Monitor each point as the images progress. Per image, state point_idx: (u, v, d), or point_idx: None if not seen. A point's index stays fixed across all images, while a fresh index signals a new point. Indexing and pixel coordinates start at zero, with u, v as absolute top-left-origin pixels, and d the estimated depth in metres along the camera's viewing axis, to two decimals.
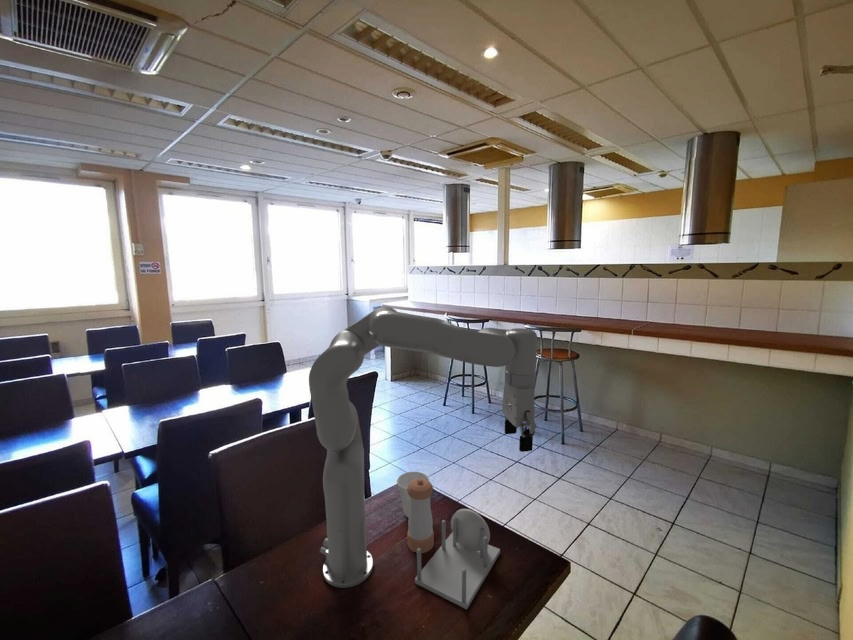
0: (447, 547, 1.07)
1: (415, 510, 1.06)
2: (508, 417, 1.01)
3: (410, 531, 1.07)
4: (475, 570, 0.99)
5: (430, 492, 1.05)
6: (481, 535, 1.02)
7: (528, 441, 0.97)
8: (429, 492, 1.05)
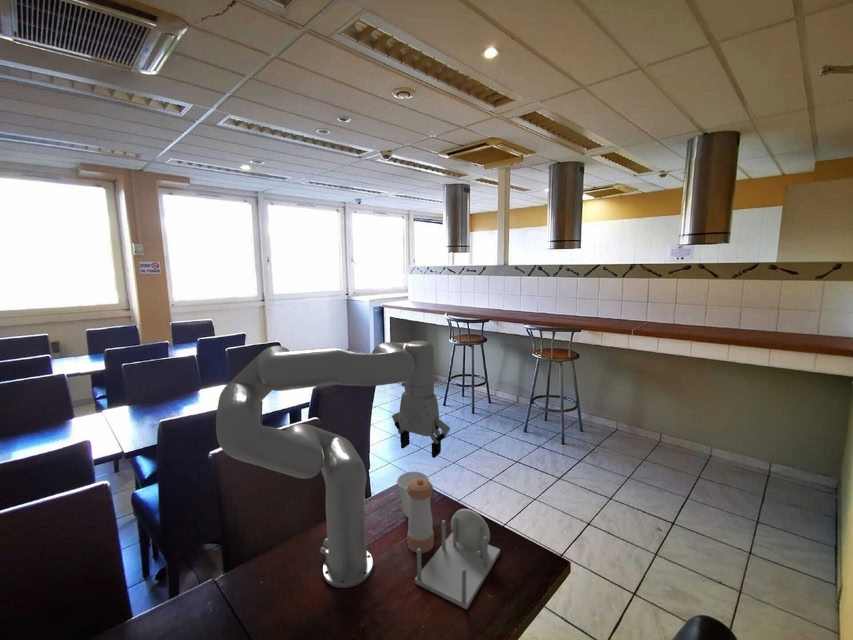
0: (447, 547, 1.07)
1: (415, 510, 1.06)
2: (414, 430, 1.02)
3: (410, 531, 1.07)
4: (475, 570, 0.99)
5: (430, 492, 1.05)
6: (481, 535, 1.02)
7: (439, 445, 1.02)
8: (429, 492, 1.05)
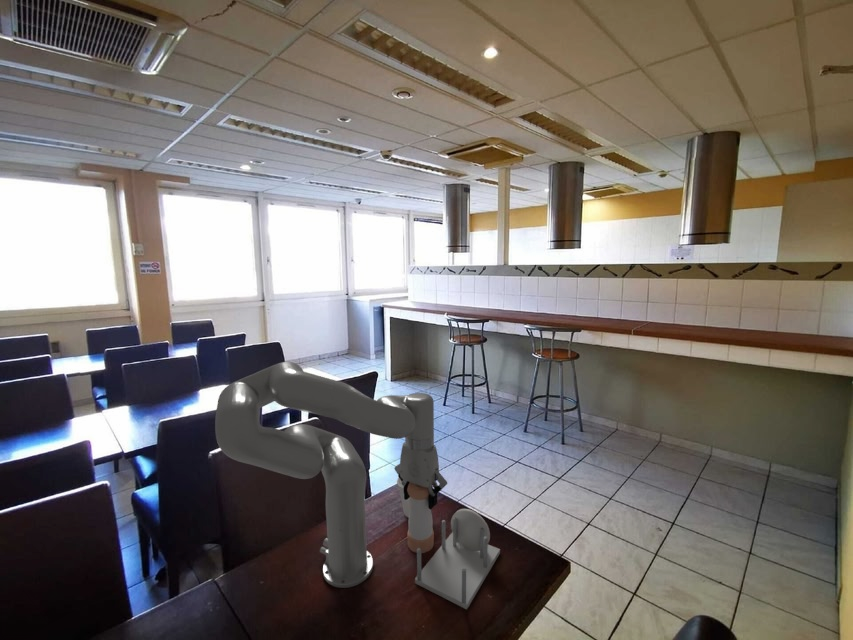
0: (447, 547, 1.07)
1: (415, 510, 1.06)
2: (414, 481, 1.04)
3: (410, 531, 1.07)
4: (475, 570, 0.99)
5: None
6: (481, 535, 1.02)
7: (436, 497, 1.05)
8: (429, 492, 1.05)
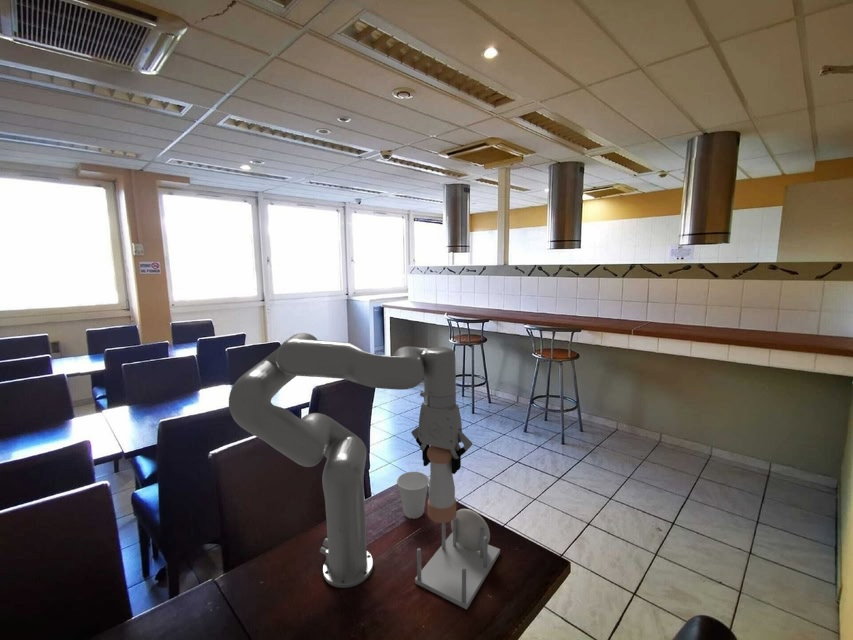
0: (447, 547, 1.07)
1: (436, 475, 0.96)
2: (436, 443, 0.95)
3: (431, 499, 0.98)
4: (475, 570, 0.99)
5: None
6: (481, 535, 1.02)
7: (459, 460, 0.96)
8: (452, 455, 0.96)
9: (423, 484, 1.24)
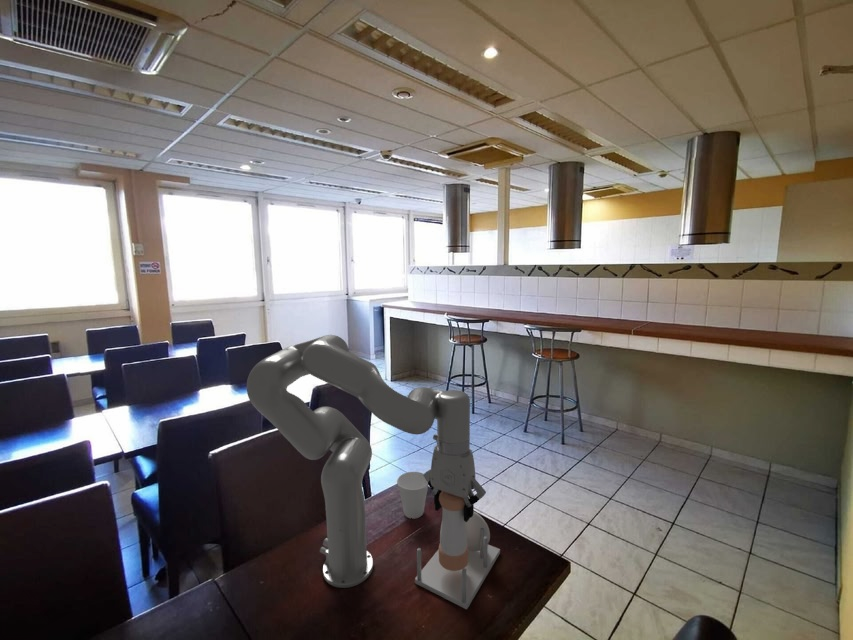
0: None
1: (448, 522, 0.93)
2: (448, 490, 0.92)
3: (442, 546, 0.95)
4: (475, 570, 0.99)
5: None
6: (481, 535, 1.02)
7: (472, 508, 0.93)
8: (464, 502, 0.93)
9: (423, 484, 1.24)
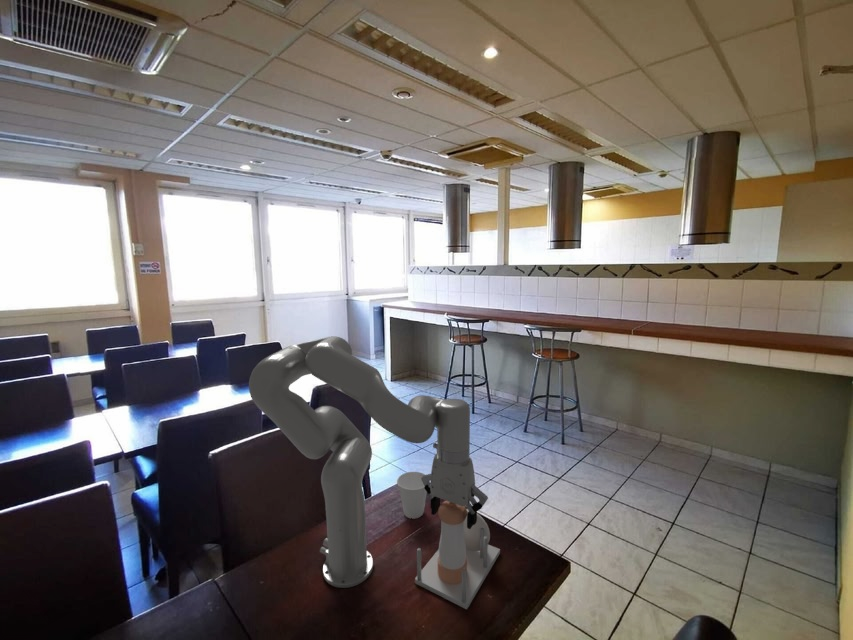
0: None
1: (447, 535, 0.94)
2: (448, 498, 0.92)
3: (441, 559, 0.96)
4: (475, 570, 0.99)
5: (464, 516, 0.94)
6: (481, 535, 1.02)
7: (475, 515, 0.93)
8: (463, 516, 0.93)
9: (423, 484, 1.24)
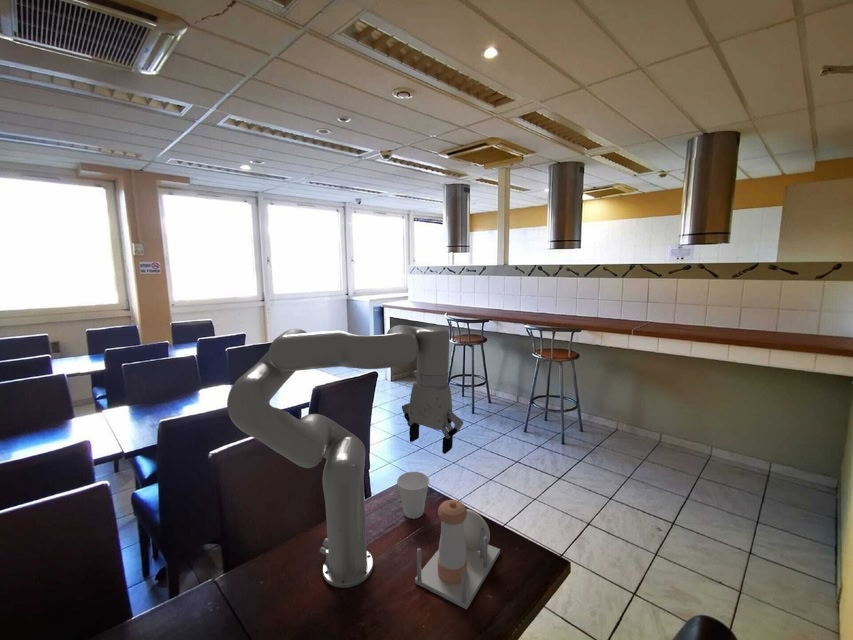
0: None
1: (447, 535, 0.94)
2: (425, 422, 0.95)
3: (441, 559, 0.96)
4: (475, 570, 0.99)
5: (464, 516, 0.94)
6: (481, 535, 1.02)
7: (451, 440, 0.95)
8: (463, 516, 0.93)
9: (423, 484, 1.24)
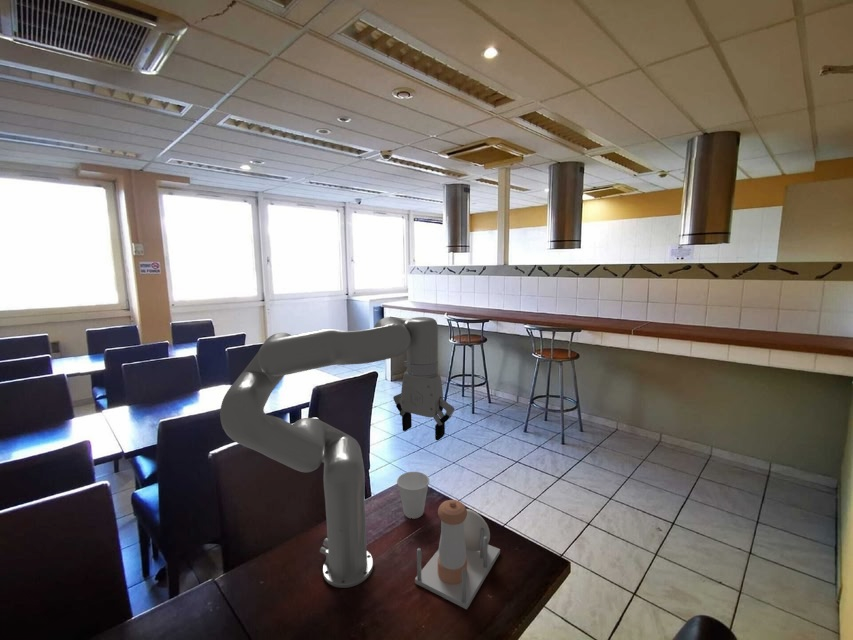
0: None
1: (447, 535, 0.94)
2: (417, 411, 0.97)
3: (441, 559, 0.96)
4: (475, 570, 0.99)
5: (464, 516, 0.94)
6: (481, 535, 1.02)
7: (443, 427, 0.97)
8: (463, 516, 0.93)
9: (423, 484, 1.24)
